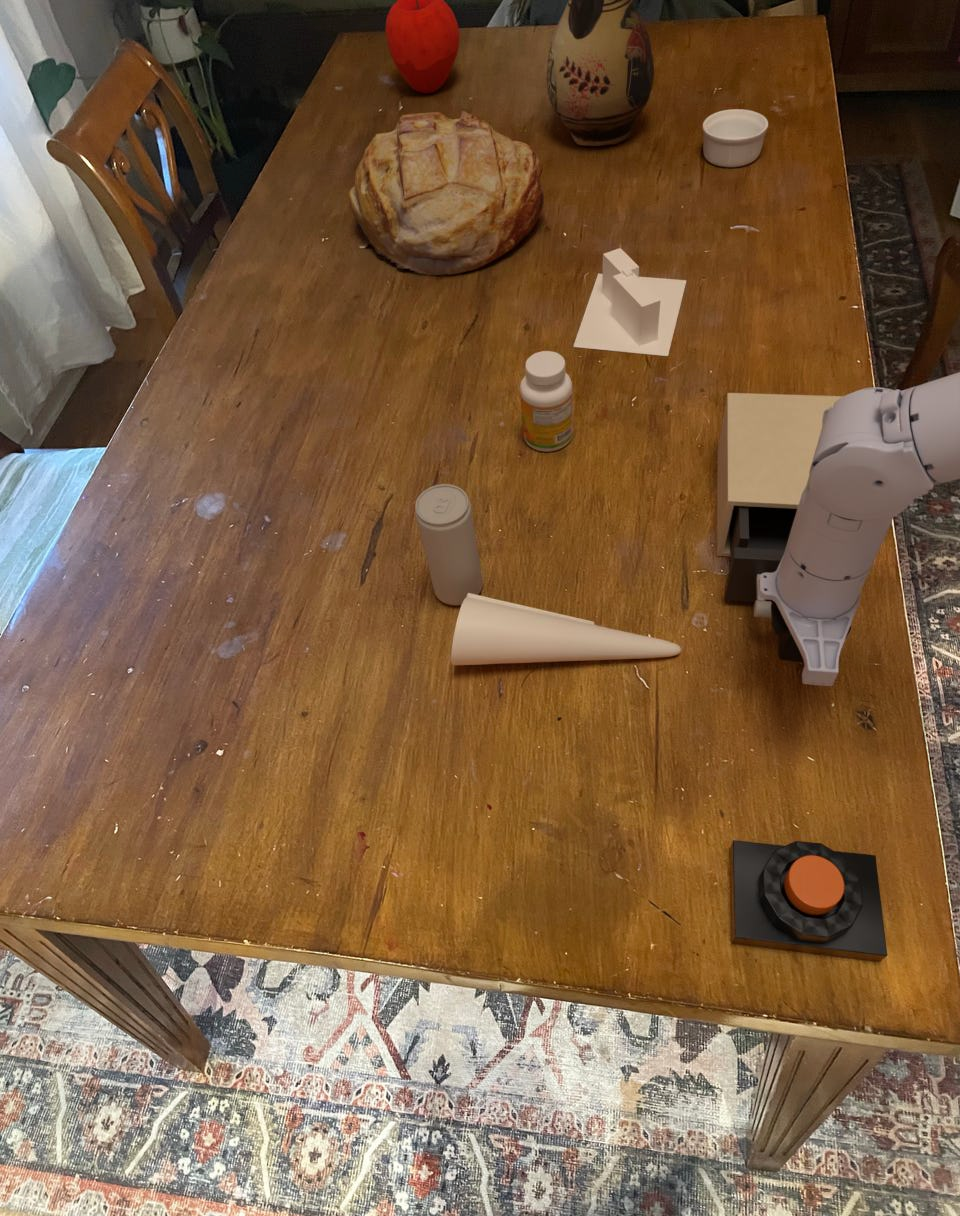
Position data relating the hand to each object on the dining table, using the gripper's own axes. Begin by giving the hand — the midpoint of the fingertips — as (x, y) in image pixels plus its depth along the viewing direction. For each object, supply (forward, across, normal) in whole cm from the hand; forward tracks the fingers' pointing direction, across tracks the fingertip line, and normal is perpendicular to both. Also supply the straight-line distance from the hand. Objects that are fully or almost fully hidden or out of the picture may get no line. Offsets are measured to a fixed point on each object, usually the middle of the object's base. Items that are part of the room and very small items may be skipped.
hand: (791, 654), depth 69 cm
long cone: (+4, 0, -18) cm, 19 cm away
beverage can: (+4, -7, -30) cm, 31 cm away
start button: (+1, +19, +1) cm, 19 cm away
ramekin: (+4, -87, -4) cm, 87 cm away
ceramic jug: (+4, -94, -24) cm, 97 cm away
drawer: (+3, -12, 0) cm, 12 cm away
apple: (+4, -111, -53) cm, 124 cm away
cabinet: (+4, -20, 0) cm, 20 cm away
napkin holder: (+4, -50, -16) cm, 53 cm away
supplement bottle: (+4, -28, -23) cm, 37 cm away
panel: (+4, +19, +1) cm, 19 cm away
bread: (+4, -69, -42) cm, 81 cm away
